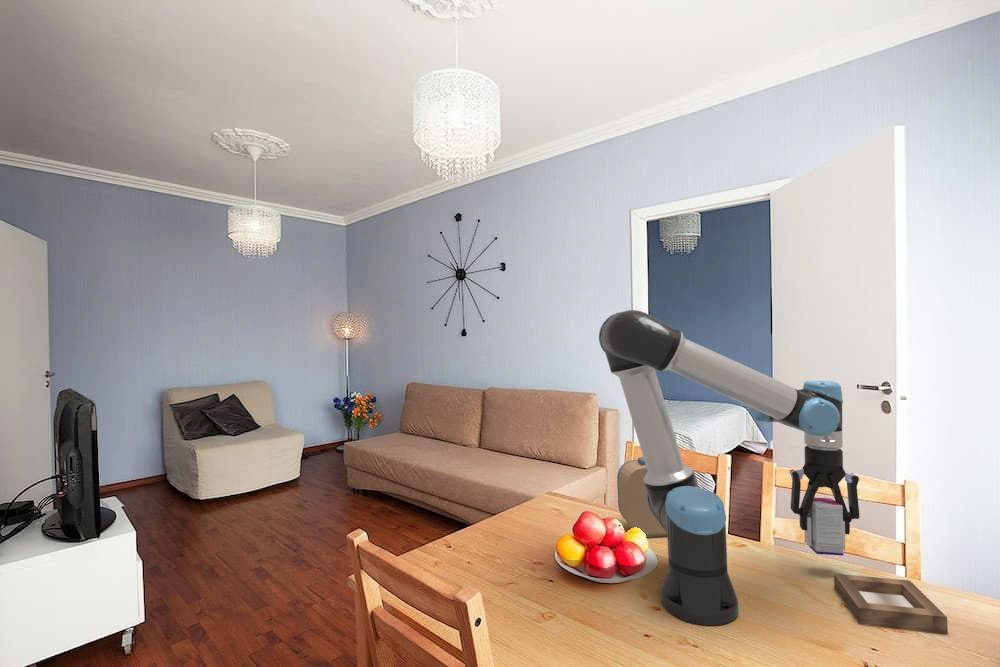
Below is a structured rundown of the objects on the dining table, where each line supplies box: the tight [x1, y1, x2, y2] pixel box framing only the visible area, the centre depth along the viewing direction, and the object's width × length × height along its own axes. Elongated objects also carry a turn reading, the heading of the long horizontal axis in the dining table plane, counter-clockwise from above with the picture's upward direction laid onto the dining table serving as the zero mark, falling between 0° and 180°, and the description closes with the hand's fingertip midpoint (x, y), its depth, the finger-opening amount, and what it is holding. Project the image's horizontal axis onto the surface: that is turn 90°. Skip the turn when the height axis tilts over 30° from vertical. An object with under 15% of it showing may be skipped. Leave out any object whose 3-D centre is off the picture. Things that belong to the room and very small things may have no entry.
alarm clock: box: [616, 456, 699, 538], centre depth 144 cm, size 21×10×22 cm, turn 94°
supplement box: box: [808, 497, 844, 556], centre depth 115 cm, size 6×6×12 cm
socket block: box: [833, 573, 949, 635], centre depth 100 cm, size 14×14×3 cm
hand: (824, 545), depth 115 cm, fingers closed on supplement box, 6 cm apart
